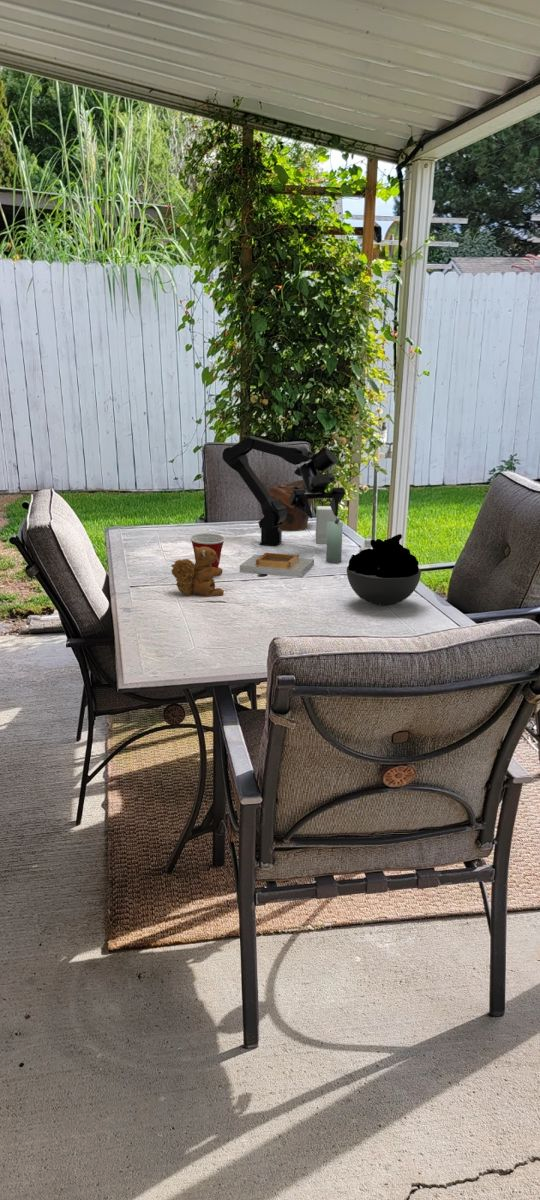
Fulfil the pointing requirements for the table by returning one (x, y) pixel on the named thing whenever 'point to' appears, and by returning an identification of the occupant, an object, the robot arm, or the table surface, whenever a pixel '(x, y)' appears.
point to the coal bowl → (384, 572)
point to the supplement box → (323, 523)
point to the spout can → (334, 541)
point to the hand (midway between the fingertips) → (324, 516)
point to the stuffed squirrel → (198, 574)
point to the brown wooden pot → (291, 506)
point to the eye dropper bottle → (366, 544)
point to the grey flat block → (277, 564)
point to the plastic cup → (209, 544)
